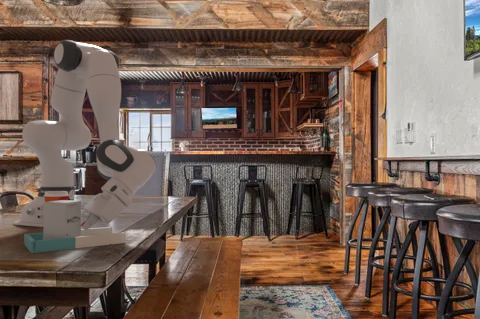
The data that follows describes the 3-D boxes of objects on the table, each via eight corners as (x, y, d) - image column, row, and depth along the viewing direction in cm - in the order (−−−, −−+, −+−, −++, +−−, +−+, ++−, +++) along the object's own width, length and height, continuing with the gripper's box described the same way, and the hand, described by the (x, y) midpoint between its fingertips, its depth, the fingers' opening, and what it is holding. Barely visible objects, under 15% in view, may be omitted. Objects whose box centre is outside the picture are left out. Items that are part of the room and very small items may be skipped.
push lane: (31, 253, 106) (31, 241, 106) (24, 244, 117) (24, 234, 117) (125, 242, 120) (125, 232, 120) (111, 236, 131) (111, 226, 131)
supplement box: (65, 248, 112) (65, 202, 112) (42, 246, 114) (42, 201, 114) (81, 243, 119) (82, 200, 119) (59, 241, 121) (60, 199, 121)
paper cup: (43, 232, 135) (44, 190, 135) (68, 231, 138) (69, 190, 138) (42, 237, 128) (42, 192, 128) (68, 235, 131) (69, 192, 131)
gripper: (98, 184, 133) (66, 217, 127) (119, 188, 116) (83, 225, 110) (112, 197, 135) (81, 230, 129) (134, 203, 118) (100, 240, 113)
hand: (82, 228), depth 120 cm, fingers closed
